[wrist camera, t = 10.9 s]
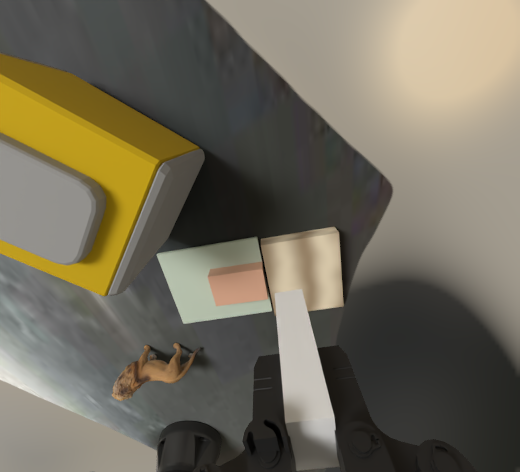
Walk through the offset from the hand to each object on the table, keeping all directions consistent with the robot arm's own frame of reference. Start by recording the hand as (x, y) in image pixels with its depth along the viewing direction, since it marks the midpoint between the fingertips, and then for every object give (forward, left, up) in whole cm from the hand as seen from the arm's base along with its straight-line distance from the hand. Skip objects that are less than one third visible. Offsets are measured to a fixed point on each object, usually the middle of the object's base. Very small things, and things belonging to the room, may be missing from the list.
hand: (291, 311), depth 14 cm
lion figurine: (-27, -29, -27) cm, 47 cm away
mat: (-12, -14, -26) cm, 32 cm away
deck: (+3, -14, -26) cm, 30 cm away
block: (-8, -14, -26) cm, 30 cm away
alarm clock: (-20, +8, -27) cm, 34 cm away
